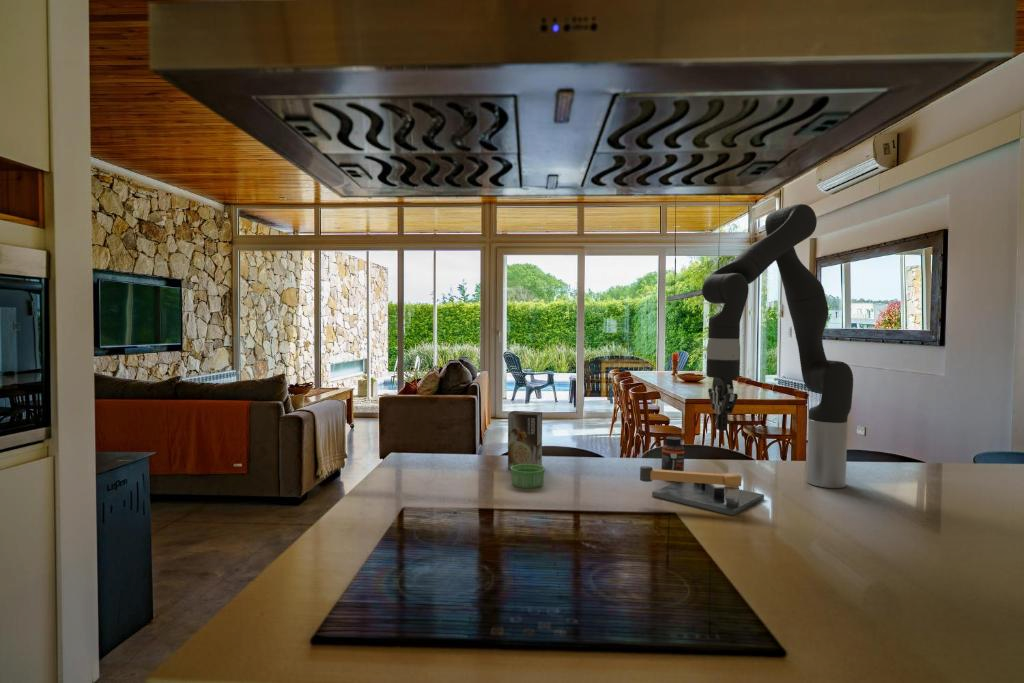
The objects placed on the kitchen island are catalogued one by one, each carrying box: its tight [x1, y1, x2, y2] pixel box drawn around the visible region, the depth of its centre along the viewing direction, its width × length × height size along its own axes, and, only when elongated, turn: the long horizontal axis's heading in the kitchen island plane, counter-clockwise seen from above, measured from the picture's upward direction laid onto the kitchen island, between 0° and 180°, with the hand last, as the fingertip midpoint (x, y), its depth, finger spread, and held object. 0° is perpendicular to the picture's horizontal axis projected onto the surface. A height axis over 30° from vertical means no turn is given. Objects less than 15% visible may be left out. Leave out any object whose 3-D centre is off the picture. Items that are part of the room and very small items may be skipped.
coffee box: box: [507, 410, 543, 470], centre depth 170 cm, size 9×6×16 cm
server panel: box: [651, 481, 765, 516], centre depth 143 cm, size 19×20×5 cm
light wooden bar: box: [639, 465, 742, 488], centre depth 135 cm, size 22×4×3 cm, turn 77°
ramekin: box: [510, 464, 546, 489], centre depth 152 cm, size 9×9×4 cm
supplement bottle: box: [660, 436, 685, 471], centre depth 160 cm, size 6×6×11 cm
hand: (721, 429), depth 140 cm, fingers closed
